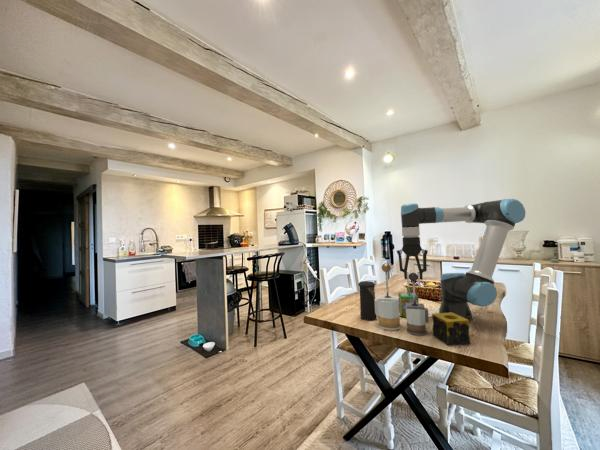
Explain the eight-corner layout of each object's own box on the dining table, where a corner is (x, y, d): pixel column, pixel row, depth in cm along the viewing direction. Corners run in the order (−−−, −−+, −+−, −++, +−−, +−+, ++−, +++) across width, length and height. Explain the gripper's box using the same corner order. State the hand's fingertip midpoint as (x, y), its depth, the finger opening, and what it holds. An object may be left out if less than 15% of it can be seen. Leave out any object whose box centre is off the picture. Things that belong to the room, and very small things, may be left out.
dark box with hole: (432, 335, 110) (430, 313, 111) (453, 333, 111) (452, 311, 111) (447, 346, 100) (446, 321, 100) (471, 344, 101) (469, 319, 101)
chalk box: (398, 312, 143) (397, 286, 143) (415, 312, 141) (414, 286, 141) (401, 317, 134) (400, 290, 134) (419, 318, 132) (418, 290, 132)
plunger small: (419, 306, 116) (417, 272, 117) (420, 309, 113) (418, 273, 113) (410, 306, 118) (408, 271, 118) (410, 308, 114) (408, 273, 115)
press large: (400, 323, 126) (398, 294, 126) (400, 331, 116) (399, 300, 117) (376, 321, 130) (375, 293, 131) (375, 329, 120) (373, 299, 121)
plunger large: (392, 297, 125) (390, 262, 125) (392, 300, 121) (390, 263, 121) (383, 297, 126) (381, 262, 127) (383, 299, 122) (381, 263, 123)
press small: (427, 329, 117) (426, 303, 117) (430, 336, 109) (428, 308, 110) (406, 327, 120) (404, 301, 121) (407, 334, 113) (405, 307, 113)
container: (377, 321, 130) (375, 283, 131) (360, 320, 132) (358, 283, 132) (376, 315, 139) (374, 280, 139) (359, 315, 140) (357, 280, 141)
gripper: (430, 235, 117) (433, 285, 116) (391, 236, 123) (394, 284, 122) (432, 236, 110) (435, 289, 109) (391, 237, 116) (394, 287, 115)
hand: (413, 286), depth 116 cm, fingers closed on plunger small, 4 cm apart
